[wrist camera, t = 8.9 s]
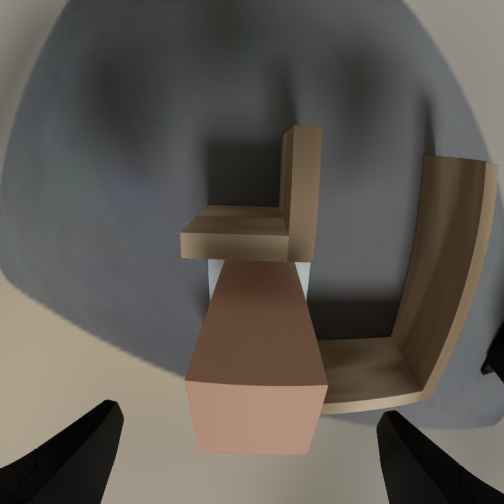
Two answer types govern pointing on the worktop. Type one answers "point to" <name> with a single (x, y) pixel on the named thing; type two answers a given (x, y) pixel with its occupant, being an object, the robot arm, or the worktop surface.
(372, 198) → the worktop surface
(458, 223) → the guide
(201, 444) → the peg
